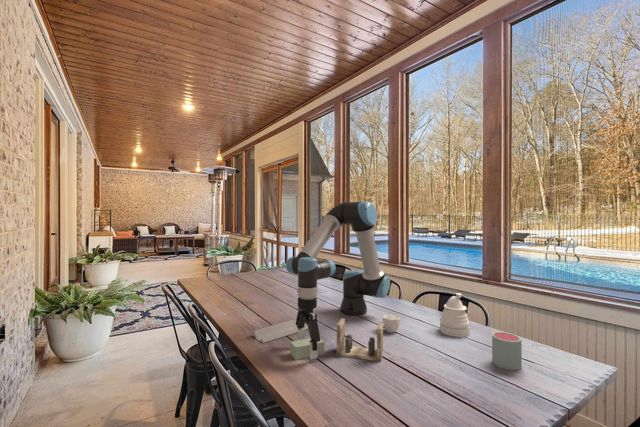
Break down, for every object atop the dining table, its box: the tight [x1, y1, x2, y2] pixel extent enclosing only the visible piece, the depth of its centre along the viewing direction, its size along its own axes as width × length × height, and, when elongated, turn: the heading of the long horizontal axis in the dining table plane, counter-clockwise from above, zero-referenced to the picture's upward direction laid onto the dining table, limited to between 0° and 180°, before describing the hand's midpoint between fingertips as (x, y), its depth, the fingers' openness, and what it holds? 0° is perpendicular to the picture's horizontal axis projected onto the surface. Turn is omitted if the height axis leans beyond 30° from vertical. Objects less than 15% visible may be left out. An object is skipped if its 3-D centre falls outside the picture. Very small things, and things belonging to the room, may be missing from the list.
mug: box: [491, 331, 523, 371], centre depth 117 cm, size 14×9×10 cm
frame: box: [336, 317, 384, 362], centre depth 123 cm, size 17×8×12 cm, turn 74°
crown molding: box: [249, 318, 309, 344], centre depth 148 cm, size 31×12×4 cm, turn 132°
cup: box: [382, 313, 401, 334], centre depth 149 cm, size 8×10×7 cm
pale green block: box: [289, 337, 325, 361], centre depth 124 cm, size 12×6×5 cm, turn 114°
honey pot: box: [439, 292, 471, 338], centre depth 147 cm, size 13×13×18 cm
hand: (306, 351), depth 123 cm, fingers open, 13 cm apart
